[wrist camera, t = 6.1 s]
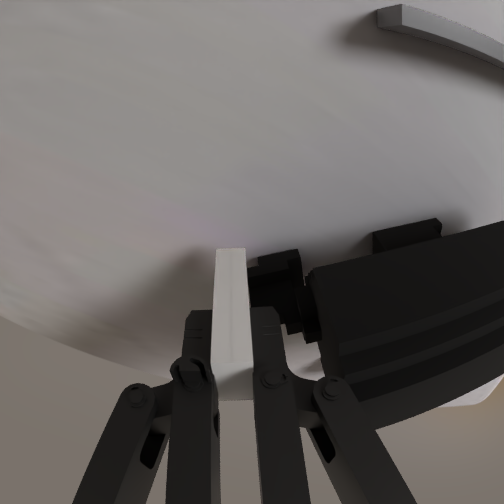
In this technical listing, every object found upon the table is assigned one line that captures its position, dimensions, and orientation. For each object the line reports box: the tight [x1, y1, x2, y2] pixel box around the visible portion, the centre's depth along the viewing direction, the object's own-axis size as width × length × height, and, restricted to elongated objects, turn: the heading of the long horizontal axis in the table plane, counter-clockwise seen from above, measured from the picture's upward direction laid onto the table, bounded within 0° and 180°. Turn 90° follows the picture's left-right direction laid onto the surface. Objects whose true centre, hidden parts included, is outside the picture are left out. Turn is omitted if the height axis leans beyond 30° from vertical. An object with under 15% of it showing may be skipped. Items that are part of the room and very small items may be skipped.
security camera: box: [247, 218, 504, 430], centre depth 14 cm, size 7×18×10 cm, turn 102°
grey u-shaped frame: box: [377, 4, 504, 69], centre depth 16 cm, size 25×17×2 cm
